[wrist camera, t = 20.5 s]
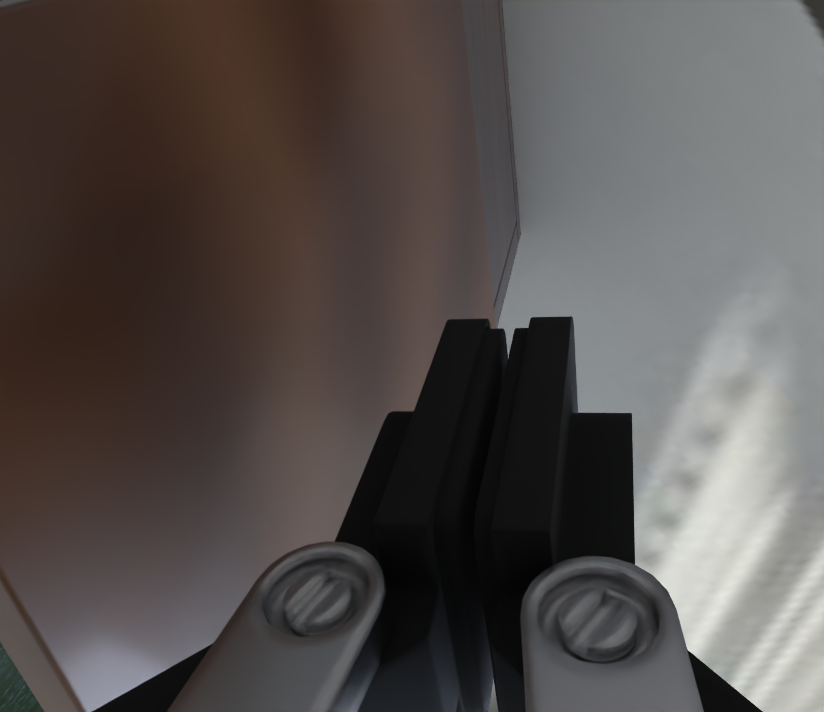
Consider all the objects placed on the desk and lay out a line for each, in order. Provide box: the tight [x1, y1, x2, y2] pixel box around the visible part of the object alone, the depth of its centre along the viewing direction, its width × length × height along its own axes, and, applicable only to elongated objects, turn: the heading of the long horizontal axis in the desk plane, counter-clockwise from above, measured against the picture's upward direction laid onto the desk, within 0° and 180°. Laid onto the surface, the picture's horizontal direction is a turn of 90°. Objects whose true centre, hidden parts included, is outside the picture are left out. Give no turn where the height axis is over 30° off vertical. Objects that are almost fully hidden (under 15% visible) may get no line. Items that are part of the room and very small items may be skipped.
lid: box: [0, 0, 496, 712], centre depth 14 cm, size 15×12×1 cm
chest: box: [0, 0, 521, 329], centre depth 25 cm, size 14×12×9 cm
